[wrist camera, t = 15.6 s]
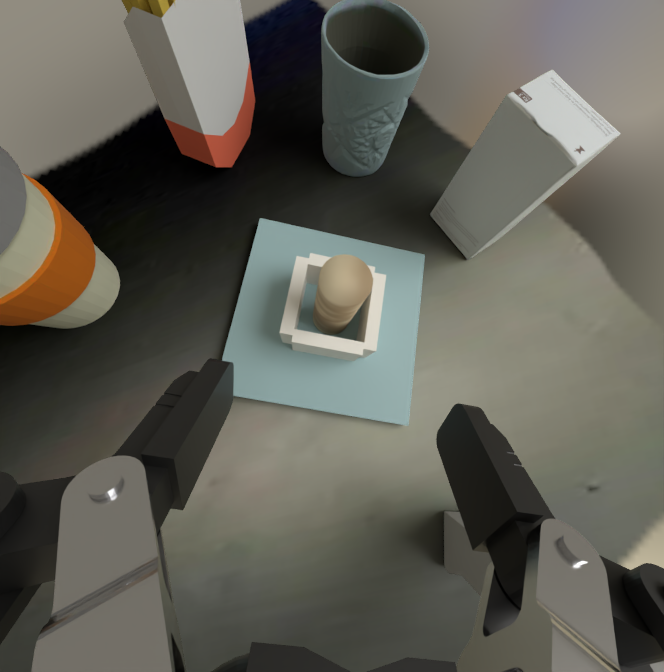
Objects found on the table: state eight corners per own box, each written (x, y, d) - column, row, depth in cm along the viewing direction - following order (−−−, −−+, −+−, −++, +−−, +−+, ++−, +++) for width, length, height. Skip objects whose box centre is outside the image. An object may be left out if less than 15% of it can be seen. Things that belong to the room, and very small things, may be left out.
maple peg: (309, 331, 29) (314, 299, 19) (316, 296, 30) (324, 249, 20) (346, 337, 29) (369, 310, 19) (351, 303, 30) (375, 260, 20)
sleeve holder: (216, 392, 28) (195, 391, 22) (261, 224, 32) (253, 188, 27) (403, 424, 29) (428, 431, 23) (420, 259, 34) (444, 232, 28)
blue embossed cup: (383, 189, 35) (424, 88, 24) (308, 171, 35) (312, 58, 23) (392, 129, 38) (433, 11, 26) (321, 111, 37) (331, -19, 25)
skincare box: (496, 241, 36) (629, 136, 21) (464, 263, 34) (583, 167, 20) (456, 193, 37) (558, 62, 22) (424, 213, 35) (510, 87, 21)
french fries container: (187, 170, 33) (57, -90, 15) (225, 107, 35) (153, -175, 18) (222, 184, 33) (135, -57, 15) (258, 120, 35) (219, -147, 18)
